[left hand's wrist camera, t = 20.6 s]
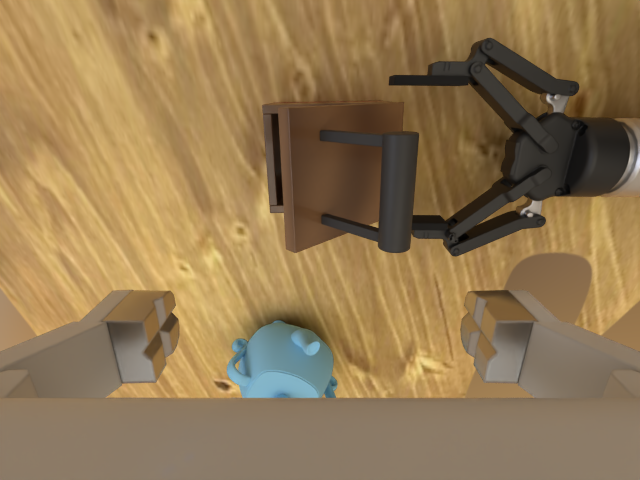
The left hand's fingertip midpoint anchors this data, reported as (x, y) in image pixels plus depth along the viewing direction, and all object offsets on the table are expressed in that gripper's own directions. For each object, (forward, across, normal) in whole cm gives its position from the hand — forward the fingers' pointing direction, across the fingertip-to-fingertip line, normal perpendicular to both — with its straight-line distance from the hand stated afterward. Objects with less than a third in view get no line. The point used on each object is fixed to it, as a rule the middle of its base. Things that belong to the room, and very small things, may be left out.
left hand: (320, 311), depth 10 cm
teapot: (+34, -4, -27) cm, 44 cm away
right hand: (+28, +6, 0) cm, 28 cm away
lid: (+21, +2, 0) cm, 21 cm away
